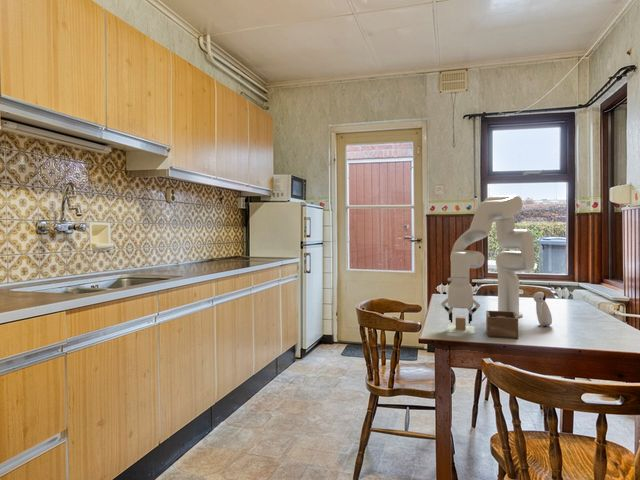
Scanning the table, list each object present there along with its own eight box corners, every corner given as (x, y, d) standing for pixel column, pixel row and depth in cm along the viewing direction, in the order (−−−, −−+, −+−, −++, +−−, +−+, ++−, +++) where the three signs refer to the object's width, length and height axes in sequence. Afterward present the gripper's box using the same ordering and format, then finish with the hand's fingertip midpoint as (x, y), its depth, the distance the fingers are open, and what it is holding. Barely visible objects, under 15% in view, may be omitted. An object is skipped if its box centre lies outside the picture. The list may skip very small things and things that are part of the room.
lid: (447, 326, 192) (447, 313, 192) (473, 327, 188) (473, 314, 188) (446, 333, 179) (446, 319, 179) (474, 335, 175) (474, 321, 175)
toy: (555, 329, 182) (555, 293, 181) (537, 328, 183) (537, 293, 183) (547, 323, 193) (547, 290, 192) (530, 322, 194) (530, 289, 194)
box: (486, 329, 183) (486, 310, 183) (514, 330, 180) (514, 311, 179) (487, 337, 170) (487, 317, 170) (518, 339, 166) (518, 318, 166)
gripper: (438, 281, 182) (438, 323, 182) (482, 282, 176) (482, 325, 176) (439, 279, 189) (439, 319, 189) (481, 280, 183) (481, 321, 184)
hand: (460, 322), depth 183 cm, fingers open, 6 cm apart
